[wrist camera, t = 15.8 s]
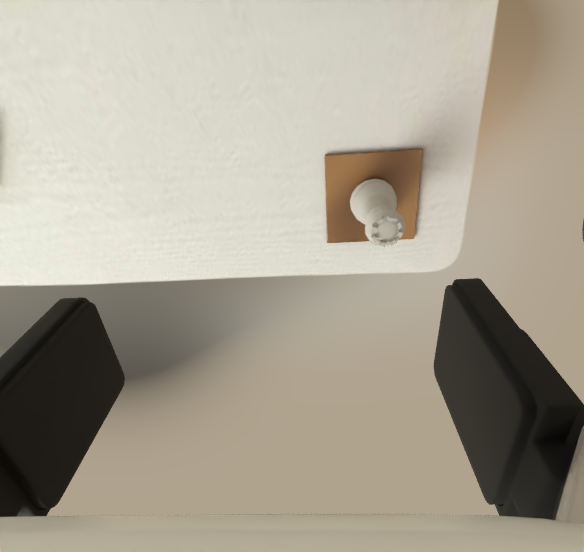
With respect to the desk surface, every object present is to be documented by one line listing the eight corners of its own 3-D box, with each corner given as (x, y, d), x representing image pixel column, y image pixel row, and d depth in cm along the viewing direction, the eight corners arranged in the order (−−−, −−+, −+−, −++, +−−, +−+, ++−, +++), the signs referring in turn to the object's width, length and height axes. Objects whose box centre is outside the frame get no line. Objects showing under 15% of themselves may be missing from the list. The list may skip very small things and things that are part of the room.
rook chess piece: (362, 170, 35) (375, 196, 28) (403, 187, 36) (426, 218, 29) (341, 211, 37) (349, 245, 31) (381, 227, 38) (397, 264, 31)
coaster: (422, 148, 35) (423, 149, 34) (413, 237, 39) (414, 238, 39) (324, 155, 35) (325, 156, 35) (327, 241, 40) (327, 243, 39)
